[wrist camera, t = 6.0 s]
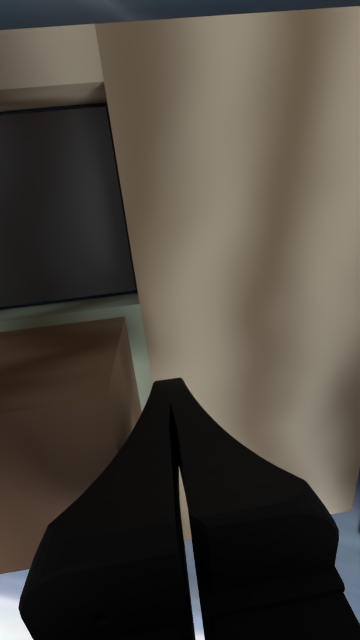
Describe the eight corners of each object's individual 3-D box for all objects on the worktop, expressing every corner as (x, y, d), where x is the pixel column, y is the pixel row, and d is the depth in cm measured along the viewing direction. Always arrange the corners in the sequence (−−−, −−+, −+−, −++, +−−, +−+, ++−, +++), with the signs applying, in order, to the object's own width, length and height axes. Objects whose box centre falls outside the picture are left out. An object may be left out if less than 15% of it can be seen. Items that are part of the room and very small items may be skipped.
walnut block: (124, 316, 13) (105, 398, 7) (143, 422, 15) (140, 549, 9) (-14, 333, 12) (-148, 434, 7) (26, 440, 15) (-50, 582, 9)
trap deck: (396, 33, 12) (444, 0, 10) (334, 484, 21) (352, 510, 19) (-172, 76, 10) (-243, 46, 8) (33, 536, 20) (21, 569, 18)
